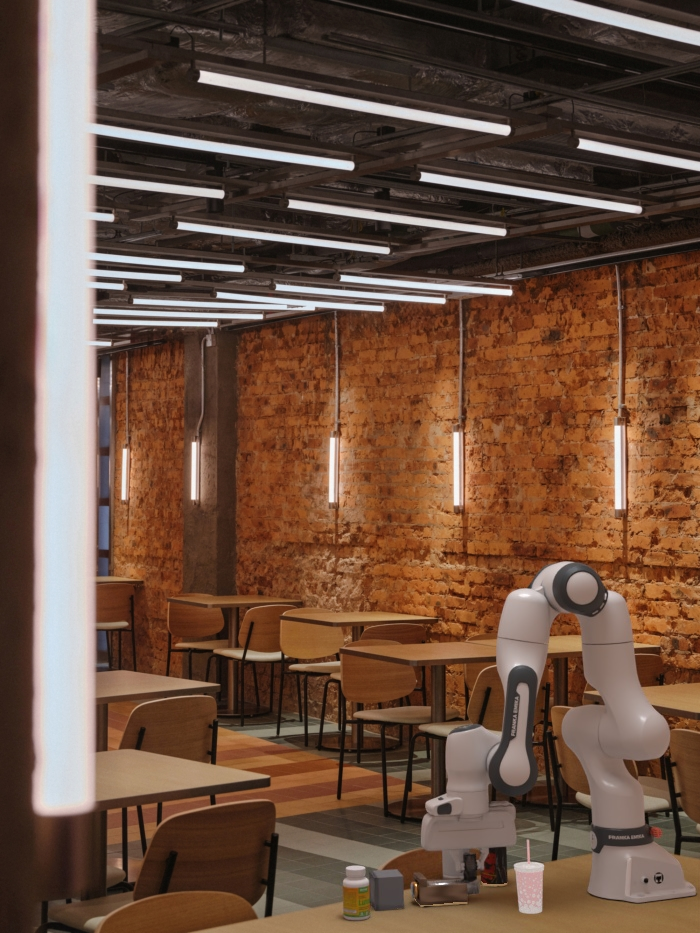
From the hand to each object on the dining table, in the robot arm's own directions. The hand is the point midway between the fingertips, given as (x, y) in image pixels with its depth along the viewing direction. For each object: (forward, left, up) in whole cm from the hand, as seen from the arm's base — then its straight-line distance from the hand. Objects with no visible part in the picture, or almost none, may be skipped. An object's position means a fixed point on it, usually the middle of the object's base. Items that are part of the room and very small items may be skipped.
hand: (469, 870), depth 255 cm
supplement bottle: (+26, +7, -6) cm, 27 cm away
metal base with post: (+5, 0, -5) cm, 7 cm away
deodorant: (-8, -12, -6) cm, 16 cm away
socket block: (+18, 0, -6) cm, 19 cm away
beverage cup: (-9, +11, -6) cm, 16 cm away
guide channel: (+7, 0, -6) cm, 9 cm away
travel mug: (-1, -17, -6) cm, 18 cm away
